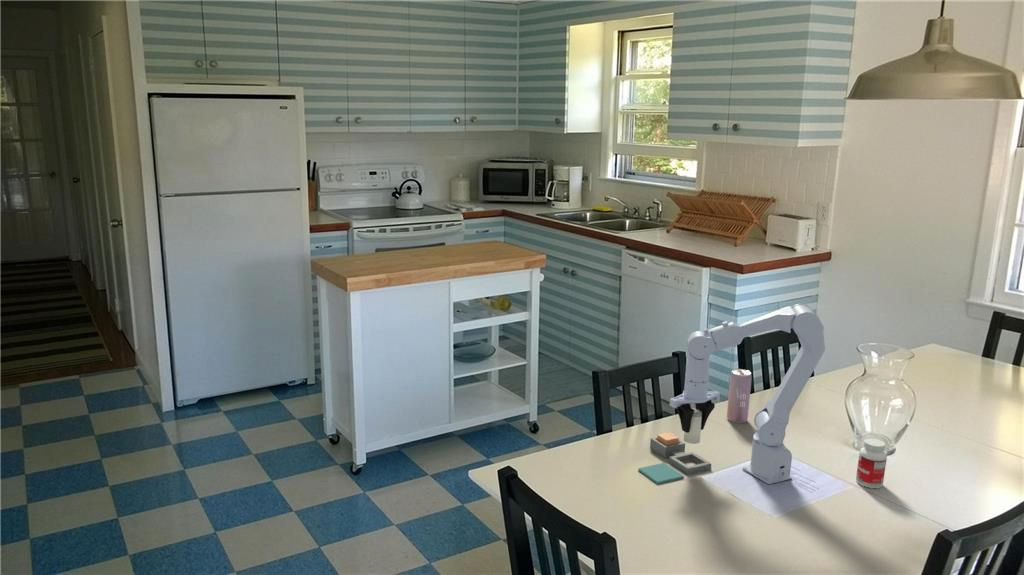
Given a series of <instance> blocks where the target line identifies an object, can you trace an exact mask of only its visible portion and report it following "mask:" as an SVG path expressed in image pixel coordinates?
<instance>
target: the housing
mask: <svg viewBox="0 0 1024 575" xmlns="http://www.w3.org/2000/svg"><path fill="white" fill-rule="evenodd" d="M649 444H650V445H649V448H650V450H651V451H653V452H655V453H656V454H658V455H659V456H661V457H662V458H664V459H667V458H669V460H668V462H669V464H671V465H672V466H674V467H675V468H677V469H679V470H680V471H682V472H684V473H685V474H686V475H691V474H695V473H699V472H704V471H708V470H709V471H710V470H711V469H712V463H711V462H710V461H708V460H706V459H704V458H703V457H701V456H699V455H698V454H696V453H695V452H693V451H691V452H687V453H686V452H685V451H686V442H685V441H682V440H681V439H679V443H678V444H673V445H668V446H665V445H664V444H662V443H661V442H659V441H657V436H655V437H650V443H649ZM691 460H692V461H693V462H695V463H696V464H694V465H687V464H685V463H684V462H685V461H691Z"/></svg>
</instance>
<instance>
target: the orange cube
mask: <svg viewBox="0 0 1024 575" xmlns="http://www.w3.org/2000/svg"><path fill="white" fill-rule="evenodd" d="M656 437H657V441H659V442H661V443H662V444H664V445H665V446H668V445H673V444H678V443H679V440H680V437H678V436H677V435H675V434H673V433H672V432H664V433H659V434H657V436H656Z"/></svg>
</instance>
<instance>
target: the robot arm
mask: <svg viewBox="0 0 1024 575" xmlns="http://www.w3.org/2000/svg"><path fill="white" fill-rule="evenodd" d="M791 329H793V331H794V333H795V334H796V335H797V339H798V340H799V343H800V345H801V346H800V348H799V350H798V352H797V354H796V355H795V357H794V359H793V361H792V362H791V364H790V367H789V368H788V370H787V372H786V373H785V375H784V377H783V379H782V380H781V382H780V384H779V386H778V388H777V389H776V392H775V393H774V395H773V396H772V398H771V400H769V401H767V402H766V403H765V405H764V407H763V408H762V409H761V410H760V409H759V411H758V412H757V413H756V414H755V416H754V417H753V421H754V426H755V428H756V431H755V433H754V434H753V436H752V444H751V446H752V447H751V454H750V455H751V456H750V464H749V465H745V466H742V470H744V472H745V471H746V472H747V473H749V474H750V475H752V476H754V477H756V478H757V479H760V481H763V482H764V483H766V484H768V485H771V484H774V483H775V484H776V483H779V482H784V481H788V480H791V479H793V476H792V475H791V468H792V457H793V454H792V452H791V450H790V449H788V447H786V446H785V444H784V440H785V437H786V429H787V426H788V425H789V420H790V414H791V412H792V409H793V407H794V406H795V404H796V402H797V401H798V399H799V397H800V395H801V394H802V392H803V390H804V388H805V386H806V385H807V383H808V381H809V379H810V377H811V376H812V374H813V372H814V370H815V369H816V367H817V365H818V364H819V362H820V360H821V359H822V356H823V354H824V353H825V351H826V350H825V349H826V347H825V346H826V345H825V335H824V334H825V333H824V331H825V327H824V325H823V324H822V321H821V319H820V318H819V316H818V315H817V314H816V313H814V311H813V309H812V308H811V306H809V305H808V304H805V303H797V304H796V303H795V304H794V305H792V306H789V305H788V306H784V307H782V308H779V309H777V310H774V311H772V312H770V313H767V314H764V315H762V316H759V317H757V318H754V319H751V320H748V321H746V322H742V323H740V324H739V323H736V322H734V321H731V322H729V321H727V320H725V321H722V322H721V325H718V326H716V327H713V328H712V327H711V328H710V329H708V328H704V329H703V331H700V330H697V331H693V332H692V333H690V335H689V336H687V340H686V346H687V347H688V352H687V356H686V358H687V359H686V363H685V373H684V374H685V375H684V377H685V378H684V387H683V388H684V389H683V391H682V393H681V394H679V395H677V396H675V397H672V398H671V397H670V398H669V407H671V408H673V409H676V411H677V414H678V417H679V420H680V425H681V430H682V432H686V433H689V431H690V425H691V419H692V416H693V413H694V411H695V410H694V409H692V408H693V407H692V406H691V405H694V406H695V409H699V410H701V411H702V421H701V431H702V430H704V428H705V426H706V424H707V420H708V418H709V417H710V415H711V412H713V410H715V406H716V405H715V403H713V402H712V401H720V399H721V393H720V392H718V391H717V390H710V391H709V390H708V388H709V377H710V365H711V363H710V357H711V355H712V353H714V352H719V351H722V350H725V349H728V348H731V347H734V346H738V345H740V344H741V343H742V342H743V339H744V338H747V337H750V336H754V335H759V334H761V333H766V332H769V331H773V330H779V331H782V332H786V333H789V334H791V332H792V331H791Z"/></svg>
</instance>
